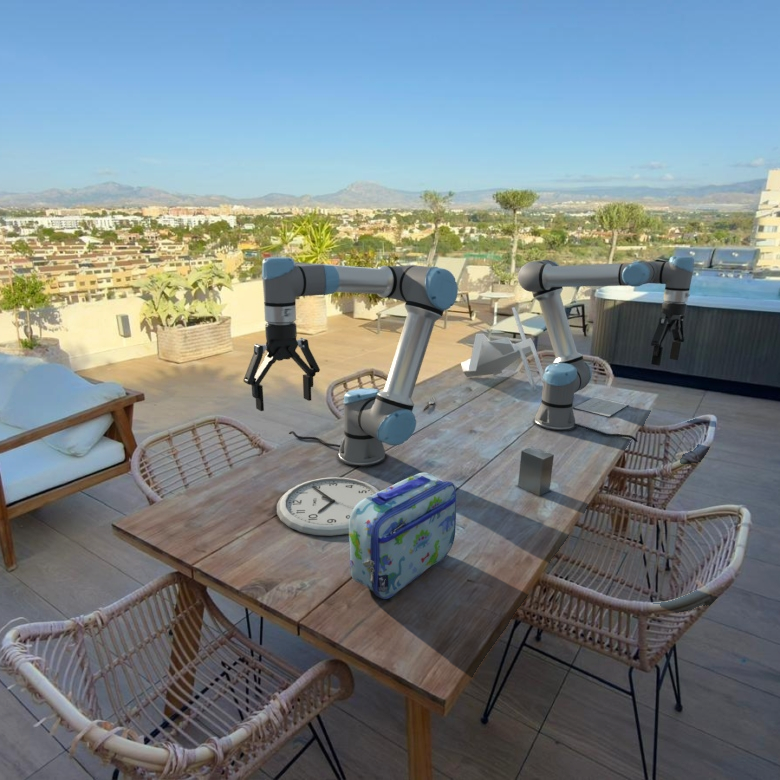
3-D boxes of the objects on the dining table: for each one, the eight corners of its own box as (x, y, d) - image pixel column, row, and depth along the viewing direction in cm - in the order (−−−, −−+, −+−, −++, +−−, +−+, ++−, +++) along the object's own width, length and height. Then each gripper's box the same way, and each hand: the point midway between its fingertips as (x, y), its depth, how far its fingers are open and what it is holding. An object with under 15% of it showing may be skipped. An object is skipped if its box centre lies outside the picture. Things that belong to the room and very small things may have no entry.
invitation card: (608, 416, 214) (573, 407, 224) (608, 416, 214) (573, 408, 224) (628, 404, 229) (594, 396, 238) (628, 405, 229) (594, 397, 238)
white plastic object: (482, 418, 266) (461, 395, 241) (463, 346, 288) (443, 318, 264) (553, 394, 254) (538, 368, 229) (528, 321, 276) (512, 289, 251)
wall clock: (392, 527, 129) (268, 531, 127) (391, 533, 130) (269, 537, 127) (383, 473, 158) (282, 475, 155) (383, 478, 158) (282, 480, 156)
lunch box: (377, 612, 103) (378, 518, 97) (342, 586, 111) (341, 497, 104) (459, 557, 121) (465, 475, 115) (425, 538, 128) (428, 460, 122)
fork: (420, 411, 216) (420, 406, 216) (430, 400, 230) (431, 395, 230) (426, 412, 215) (426, 407, 215) (436, 401, 230) (436, 396, 229)
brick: (517, 486, 155) (521, 450, 152) (528, 481, 158) (532, 446, 155) (539, 496, 150) (543, 459, 146) (549, 490, 153) (553, 454, 149)
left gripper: (238, 330, 118) (245, 418, 124) (331, 319, 133) (333, 398, 139) (225, 325, 123) (232, 410, 129) (316, 315, 138) (318, 392, 145)
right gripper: (668, 306, 171) (658, 369, 177) (702, 300, 185) (691, 359, 192) (646, 303, 176) (636, 364, 183) (680, 298, 191) (670, 355, 197)
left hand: (284, 404), depth 134 cm, fingers open, 13 cm apart
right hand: (664, 362), depth 187 cm, fingers open, 13 cm apart
